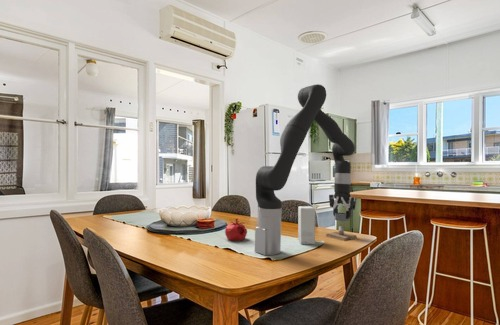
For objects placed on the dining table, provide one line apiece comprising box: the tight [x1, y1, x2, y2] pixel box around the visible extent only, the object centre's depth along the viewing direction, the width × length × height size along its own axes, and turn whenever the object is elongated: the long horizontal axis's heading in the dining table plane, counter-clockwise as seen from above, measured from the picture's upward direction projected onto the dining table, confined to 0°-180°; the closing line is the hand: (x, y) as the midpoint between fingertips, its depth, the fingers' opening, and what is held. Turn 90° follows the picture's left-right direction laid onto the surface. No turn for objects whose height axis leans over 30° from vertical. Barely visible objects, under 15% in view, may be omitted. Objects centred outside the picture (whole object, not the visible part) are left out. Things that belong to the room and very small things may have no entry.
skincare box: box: [297, 205, 316, 245], centre depth 136 cm, size 8×7×16 cm
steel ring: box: [334, 212, 350, 222], centre depth 148 cm, size 6×6×3 cm
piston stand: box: [325, 225, 357, 242], centre depth 148 cm, size 10×10×5 cm
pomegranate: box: [224, 217, 248, 242], centre depth 138 cm, size 10×10×9 cm
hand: (341, 217), depth 148 cm, fingers closed on steel ring, 6 cm apart
